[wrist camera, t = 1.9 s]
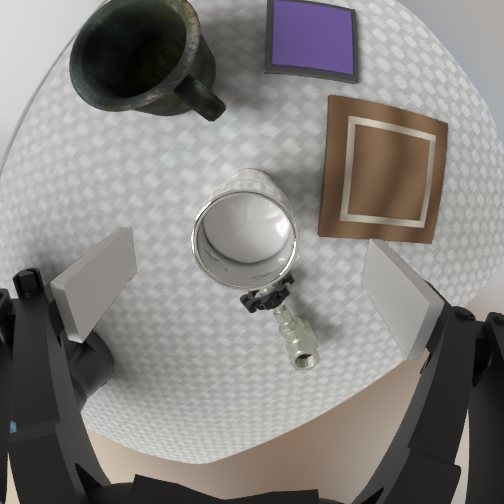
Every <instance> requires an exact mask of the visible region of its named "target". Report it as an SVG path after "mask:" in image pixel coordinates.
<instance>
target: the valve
mask: <svg viewBox="0 0 504 504" xmlns="http://www.w3.org/2000/svg"><path fill="white" fill-rule="evenodd" d="M294 281H295V279H294V278H293V276H292V274H291V273H287V274H286V275H285V276H284V277H283V278H281V279H280V280H279V281H277V282H279V283H278V285H277V287H276V288H274V286H273V285H271V286H268V287H266V288H263V289H260V295H261V296H262V297H259V298H255V295H256V293H257V292H258V291H259V290H255V291H248V292H249V293H248V294H245V295H243V296H241V298H240V301H241V303H242V304H243V305H244V306H245V307H246V308H247V310H248V311H249V313H254V312H256V311H257V309H259V310H264V309H266V310H269V309H274V311H273V313H274V316H275V318H276V319H277V321H278V322H279V323H281V325H280V327H279V332H280V333H281V335H282V336H283V338H285V339H286V349H287V352H288V355H289V361H290V363H291V364H292V366H293V367H294V368H295V369H296V370H309V369H312V368H313V367H314V366H315V365H316V364H317V363H318V362H319V361H320V356H319V352H318V350H317V347H318V340H317V337H316V335H315V333H314V332H313V329H312V327H311V326H310V324H309V322H308V321H307V319H300V318H298V317H292V316H291V313H290V311H289V309H288V308H287V306H286V305H281V303H282V302H283V300H285V298H286V297H287V296H288V295H289V294H290V291H289V289H288V287H287V286H286V285H285V283H287V282H289V283H290V285H291V284H293V283H294ZM261 304H262V305H261ZM256 308H257V309H256Z"/></svg>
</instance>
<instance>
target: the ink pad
mask: <svg viewBox="0 0 504 504" xmlns="http://www.w3.org/2000/svg"><path fill="white" fill-rule="evenodd" d="M265 73H272V74H285V75H296V76H305V77H314V78H321V79H328V80H334V81H340V82H346V83H351V84H355V83H357V82H358V56H357V28H356V13H355V10H354V9H349V8H345V7H340V6H335V5H330V4H324V3H319V2H312V1H305V0H267V24H266V50H265Z"/></svg>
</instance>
